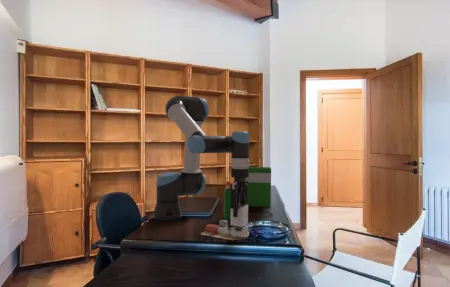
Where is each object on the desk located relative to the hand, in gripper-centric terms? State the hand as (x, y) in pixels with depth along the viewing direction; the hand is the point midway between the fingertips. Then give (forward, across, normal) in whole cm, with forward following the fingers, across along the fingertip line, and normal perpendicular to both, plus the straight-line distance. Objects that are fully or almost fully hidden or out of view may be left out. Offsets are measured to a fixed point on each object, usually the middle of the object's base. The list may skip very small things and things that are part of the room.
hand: (239, 222), depth 125 cm
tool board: (+7, +1, +4) cm, 8 cm away
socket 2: (+1, 0, 0) cm, 1 cm away
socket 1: (+6, +5, +10) cm, 13 cm away
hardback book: (+7, +63, +16) cm, 65 cm away
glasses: (+8, +42, +9) cm, 44 cm away
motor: (+7, +25, +15) cm, 30 cm away
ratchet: (+6, 0, +6) cm, 8 cm away
